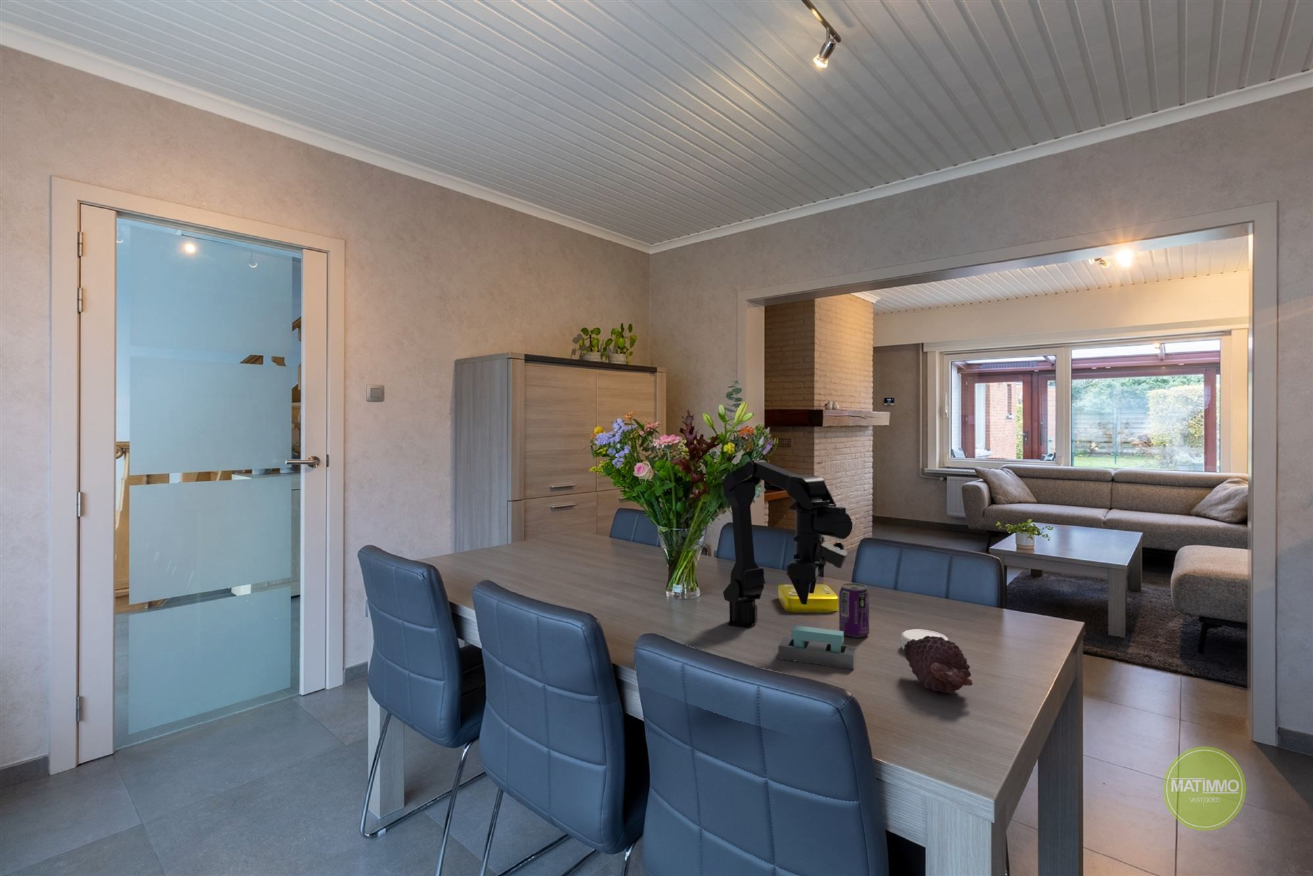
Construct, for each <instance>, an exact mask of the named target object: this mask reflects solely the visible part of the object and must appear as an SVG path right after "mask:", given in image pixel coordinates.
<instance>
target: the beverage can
mask: <svg viewBox="0 0 1313 876" xmlns="http://www.w3.org/2000/svg"><path fill="white" fill-rule="evenodd" d="M838 598H839V611H838V617H839V618H838V621H839V622H838V623H839V624H838V625H839V627H838V628H839V629H838V631H844V636H847V635H848V636H847V637H849V636H852V637H851V638H863V637H865V636H867V635H869V634H870V594H869V591H868V586H867V585H865V584H862V583H856V582H845V583H841V585H840V590H839V592H838Z"/></svg>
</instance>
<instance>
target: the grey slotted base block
mask: <svg viewBox="0 0 1313 876" xmlns="http://www.w3.org/2000/svg"><path fill="white" fill-rule="evenodd" d="M777 652H778V654H777V655H778V658H783V659H788V660H787V661H789V660H796V661H801V662H800V663H803V662H808V663H807V664H810V663H813V664H812V665H817V664H821V665H820V666H824V665H826V666H825V667H831V666H834V667H833V668H839V669H844V668H846V670H851V669H853V670H855V666H856V661H857V646H856V645H849V644H844V643H843V644H842V645H841V653H839V652H832V651H831V643H824V642H816V641H808V640H804V648H802V647H795V646H794V639H793V638H791V637H788V636H783V638H782V639H781V641H780V642H779V644H778V651H777ZM778 658H777V659H778ZM796 661H795V662H796ZM853 670H852V671H853Z"/></svg>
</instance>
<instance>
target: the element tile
mask: <svg viewBox="0 0 1313 876" xmlns="http://www.w3.org/2000/svg"><path fill="white" fill-rule="evenodd" d="M777 588H778V598H777V599H778V601H779V602H780V604H781V606H782V607H783V609H784V611H786V612H789V613H832V612H831V611H837V610H839V595H837V594H836V593H835V592H834V590H832V589H831V587H830V586H829V585H827V584H822V583H820V584H817V583H816V586H815V590H814V593H813V594H812V593H809V595H808V600H807V604H806V605H803V604H801V602H800V599H799V597H798V595H797V592H796V590H795V588H794V586H793V584H779V585H778V587H777ZM837 612H838V611H837Z"/></svg>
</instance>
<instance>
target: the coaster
mask: <svg viewBox="0 0 1313 876" xmlns="http://www.w3.org/2000/svg"><path fill="white" fill-rule="evenodd" d="M925 636H930V637H931V636H934V637H942V638H943V639H945V640H949V638H948V637H947V636H945V634H943V633H940V632H937V631H933V630H929V629H928V630H927V629H920V628H919V629H917V628H916V629H907V630H905V631H903V632H902V633H901V635H900V637H901V641H900V642H901V644H900V645H901V648H902V650H903V651H904V648H905V647H904V645H905V644H907V642H908V641H911V640H912V639H915V640H918V639H923V638H924V637H925Z"/></svg>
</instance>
